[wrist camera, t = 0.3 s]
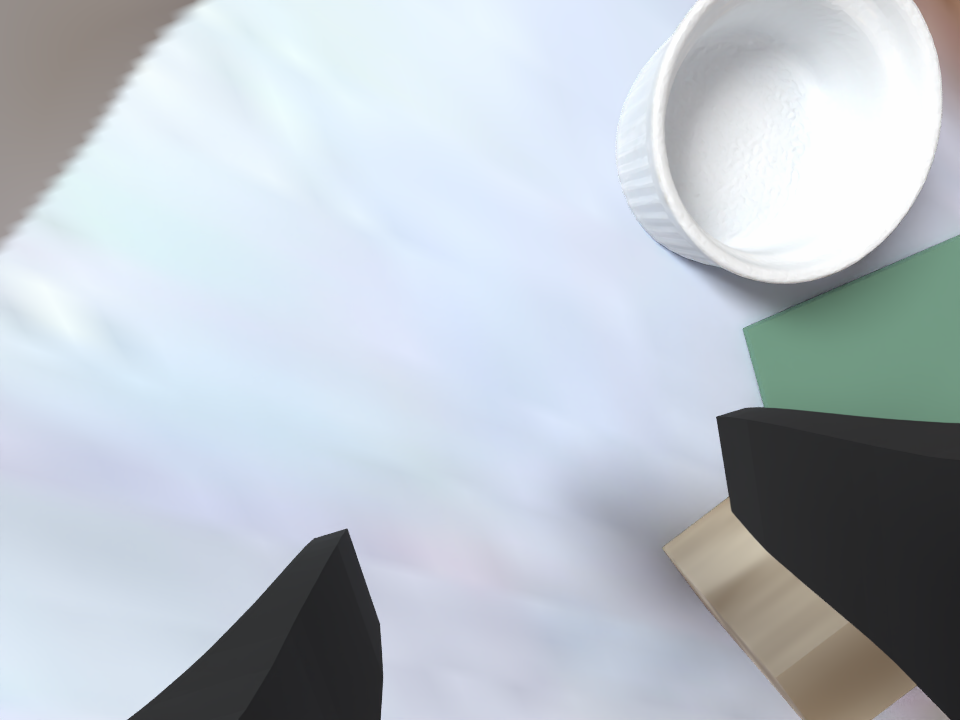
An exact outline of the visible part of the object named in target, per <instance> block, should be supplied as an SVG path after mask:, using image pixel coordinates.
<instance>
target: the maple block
mask: <svg viewBox="0 0 960 720" xmlns="http://www.w3.org/2000/svg"><path fill="white" fill-rule="evenodd" d="M662 549H663V550H664V552H665V553H666V554H667V556H668V557H669V558H670V560H671V561H672V562H673V564H674V565H675V566H676V568H677V569H678V570H679V572H680V573H681V574H682V576H683V577H684V579H685V580H686V581H687V583H688V584H689V585H690V587H691V588H692V589H693V591H694V592H695V593H696V595H697V596H698V597H699V599H700V600H701V601H702V603H703V604H704V605H705V607H706V608H707V609H708V610H709V611H710V612H711V614H712V615H713V616H714V617H715V618H716V619H717V621H718V622H719V623H720V624H721V625H722V626H723V628H724V629H725V630H726V631H727V632H728V634H729V635H730V636H731V637H732V638H733V639H734V641H735V642H736V643H737V644H738V645H739V646H740V648H741V649H742V650H743V651H744V652H745V653H746V655H747V656H748V657H749V658H750V659H751V660H752V662H753V663H754V664H755V665H756V666H757V667H758V669H759V670H760V671H761V672H762V673H763V674H764V676H765V677H766V678H767V679H768V680H769V681H770V683H771V684H772V685H773V686H774V687H775V688H776V690H777V691H778V692H779V693H780V694H781V695H782V697H783V698H784V699H785V700H786V701H787V702H788V704H789V705H790V706H791V707H792V708H793V710H794V711H795V712H796V713H797V714H798V715H799V717H800V718H801V719H802V720H872V719H873V718H875V717H876V716H877V715H879V714H880V713H881V712H882V711H884V710H885V709H886V708H888V707H889V706H890V705H892V704H893V703H894V702H896V701H897V700H898V699H900V698H901V697H902V696H904V695H905V694H906V693H908V692H909V691H910V690H912V689H913V688H914V687H915V686H917V685H916V684H915V683H914V682H913V681H912V680H911V679H910V678H909V677H908V675H907V674H906V673H905V672H904V671H903V670H902V669H901V668H900V667H899V666H898V665H897V664H896V663H895V662H894V661H893V660H892V659H890V658H889V657H888V656H887V655H886V654H885V653H884V652H883V651H882V650H881V649H880V648H878V647H877V646H876V645H875V644H874V643H873V642H872V641H871V640H870V639H869V638H867V637H866V636H865V635H864V634H863V633H861V632H860V631H859V630H858V629H857V628H856V627H854V626H853V625H852V624H851V623H850V622H849V621H847V620H846V619H845V618H844V617H843V616H841V615H840V614H839V613H838V612H837V611H836V610H834V609H833V608H832V607H831V606H830V605H828V604H827V603H826V602H825V601H824V600H823V599H821V598H820V597H819V596H818V595H817V594H815V593H814V592H813V591H812V590H811V589H810V588H808V587H807V586H806V585H805V584H804V583H802V582H801V581H800V580H799V579H798V578H797V577H796V576H794V575H793V574H792V573H791V572H790V571H789V570H787V569H786V568H785V567H784V566H783V565H782V564H780V563H779V562H778V561H777V560H776V559H775V558H774V557H773V556H771V555H770V554H769V553H768V552H767V551H766V550H765V549H764V548H763V547H762V546H761V545H760V544H759V543H758V541H757V540H756V539H755V538H754V537H753V536H752V535H751V534H750V533H749V532H748V530H747V529H746V528H745V527H744V526H743V524H742V523H741V522H740V521H739V520H738V519H737V517H736V516H735V515H734V514H733V513H732V512H731V505H730V499H729V497H728V498H727V499H725V500H724V501H723V502H721V503H720V504H719V505H717V506H716V507H715V508H713V509H712V510H711V511H710V512H708V513H707V514H706V515H704V516H703V517H702V518H700V519H699V520H698V521H696V522H695V523H694V524H692V525H691V526H690V527H688V528H687V529H686V530H685V531H683V532H682V533H681V534H679V535H678V536H677V537H675V538H674V539H673V540H671V541H670V542H669V543H667V544H666V545H665V546H664V547H662Z"/></svg>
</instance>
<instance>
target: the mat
mask: <svg viewBox="0 0 960 720" xmlns="http://www.w3.org/2000/svg"><path fill="white" fill-rule="evenodd" d="M743 331H744V335H745V339H746V342H747V346H748V350H749V353H750V357H751V361H752V364H753V368H754V371H755V375H756V379H757V382H758V386H759V390H760V393H761V397H762V401H763V404H764V407H765V408H782V409H794V410H804V411H814V412H824V413H834V414H843V415H853V416H863V417H874V418H886V419H898V420H913V421H928V422H944V423H960V235H958V236H956V237H954V238H951V239H949V240H947V241H944V242H942V243H940V244H937V245H935V246H933V247H930V248H928V249H926V250H923V251H921V252H919V253H917V254H914V255H912V256H910V257H907V258H905V259H903V260H900V261H898V262H896V263H893V264H891V265H889V266H886V267H884V268H882V269H879V270H877V271H875V272H872V273H870V274H868V275H866V276H863V277H861V278H859V279H856V280H854V281H852V282H849V283H847V284H845V285H842V286H840V287H838V288H835V289H833V290H831V291H828V292H826V293H824V294H821V295H819V296H817V297H815V298H812V299H810V300H808V301H805V302H803V303H801V304H798V305H796V306H794V307H791V308H789V309H787V310H784V311H782V312H780V313H777V314H775V315H773V316H770V317H768V318H766V319H763V320H761V321H759V322H757V323H754V324H752V325H750V326H747V327H745V328H743Z"/></svg>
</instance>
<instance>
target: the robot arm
mask: <svg viewBox="0 0 960 720" xmlns="http://www.w3.org/2000/svg"><path fill="white" fill-rule="evenodd" d="M716 418H717V424H718V431H719V437H720V443H721V449H722V456H723V462H724V468H725V474H726V481H727V487H728V493H729V499H730V505H731V512H732V513H733V514H734V515H735V516H736V517H737V519H738V520H739V521H740V522H741V523H742V524H743V526H744V527H745V528H746V529H747V530H748V532H749V533H750V534H751V535H752V536H753V537H754V538H755V539H756V540H757V541H758V543H759V544H760V545H761V546H762V547H763V548H764V549H765V550H766V551H767V552H768V553H769V554H770V555H771V556H773V557H774V558H775V559H776V560H777V561H778V562H779V563H780V564H782V565H783V566H784V567H785V568H786V569H787V570H789V571H790V572H791V573H792V574H793V575H794V576H796V577H797V578H798V579H799V580H800V581H801V582H802V583H804V584H805V585H806V586H807V587H808V588H810V589H811V590H812V591H813V592H814V593H815V594H817V595H818V596H819V597H820V598H821V599H823V600H824V601H825V602H826V603H827V604H828V605H830V606H831V607H832V608H833V609H834V610H836V611H837V612H838V613H839V614H840V615H841V616H843V617H844V618H845V619H846V620H847V621H849V622H850V623H851V624H852V625H853V626H854V627H856V628H857V629H858V630H859V631H860V632H861V633H863V634H864V635H865V636H866V637H867V638H869V639H870V640H871V641H872V642H873V643H874V644H875V645H876V646H877V647H878V648H880V649H881V650H882V651H883V652H884V653H885V654H886V655H887V656H888V657H889V658H890V659H892V660H893V661H894V662H895V663H896V664H897V665H898V666H899V667H900V668H901V669H902V670H903V671H904V672H905V673H906V674H907V675H908V677H909V678H910V679H911V680H912V681H913V682H914V683H915V684H916V685H917V686H918V687H919V688H920V689H921V690H922V691H923V692H924V693H925V694H926V695H927V696H928V697H929V698H930V699H931V700H932V701H933V702H934V703H935V704H936V705H937V706H938V707H939V708H940V709H941V710H942V711H943V712H944V713H945V714H946V715H947V716H948V717H949V719H950V720H960V423H944V422H928V421H913V420H898V419H886V418H874V417H863V416H853V415H843V414H834V413H824V412H814V411H804V410H794V409H782V408H765V407H754V408H744V409H740V410H737V411H734V412H730V413H727V414H724V415H721V416H717V417H716ZM382 689H383V664H382V647H381V633H380V623H379V620H378V617H377V614H376V611H375V608H374V605H373V602H372V599H371V597H370V594H369V591H368V588H367V585H366V582H365V579H364V576H363V573H362V570H361V567H360V564H359V561H358V558H357V555H356V552H355V549H354V546H353V544H352V541H351V538H350V535H349V532H348V529H344V530H341V531H338V532H334V533H331V534H328V535H324V536H321V537H318V538H314V539H313V540H312V541H311V542H310V543H308V544H307V545H306V546H305V547H304V549H303V550H302V551H301V552H300V553H299V554H298V555H297V556H296V557H295V558H294V559H293V560H292V562H291V563H290V564H289V565H288V566H287V567H286V568H285V569H284V571H283V572H282V573H281V574H280V575H279V576H278V577H277V578H276V580H275V581H274V582H273V583H272V584H271V585H270V586H269V587H268V588H267V590H266V591H265V592H264V593H263V594H262V595H261V596H260V597H259V599H258V600H257V601H256V602H255V603H254V604H253V605H252V606H251V607H250V608H249V609H248V610H247V611H246V612H245V613H244V614H243V615H242V616H241V617H240V618H239V619H238V621H237V622H236V623H235V624H234V625H233V626H232V627H231V628H230V629H229V630H228V631H227V632H226V633H225V634H224V635H223V636H222V637H221V638H220V639H219V640H218V641H217V642H216V643H215V644H214V645H213V646H212V647H211V648H210V649H209V650H208V651H207V652H206V653H205V654H204V655H203V656H202V657H201V658H200V659H198V660H197V661H196V662H195V663H194V664H193V665H192V666H191V667H190V668H189V669H188V670H186V671H185V672H184V673H183V674H182V675H181V676H180V677H178V678H177V679H176V680H175V681H174V682H173V683H172V684H170V685H169V686H168V687H167V688H166V689H165V690H163V691H162V692H161V693H160V694H159V695H158V696H157V697H155V698H154V699H153V700H152V701H150V702H149V703H148V704H147V705H146V706H144V707H143V708H142V709H141V710H139V711H138V712H137V713H135V714H134V715H133V716H132V717H130V718H129V719H128V720H381V705H382Z"/></svg>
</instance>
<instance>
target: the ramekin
mask: <svg viewBox="0 0 960 720" xmlns="http://www.w3.org/2000/svg"><path fill="white" fill-rule="evenodd" d="M941 118H942V82H941V71H940V67H939V61H938V56H937V52H936V48H935V46H934V42H933V39H932V36H931V34H930V32H929V29H928V27H927V25H926V22H925V20H924V18H923V16H922V14H921V12H920V11H919V8H918V7H917V6H916V4H915V3H914V2H913V0H698V1H697V2H696V3H695V4H694V6H693V7H692V8H691V9H690V10H689V12H688V13H687V14H686V16H685V17H684V18H683V20H682V21H681V22H680V24H679V25H678V27H677V28H676V30H675V32H674V33H673V35H672V36H671V37H670V38H669V39H668V40H667V41H666V42H665V43H664V44H663V45H662V46H661V47H660V48H659V49H658V50H657V51H656V52H655V53H654V55H653V56H652V57H651V59H650V60H649V61H648V63H647V64H646V65H645V66H644V67H643V69H642V70H641V71H640V73H639V75H638V77H637V79H636V80H635V82H634V83H633V85H632V87H631V89H630V91H629V93H628V96H627V98H626V101H625V103H624V105H623V108H622V112H621V116H620V119H619V123H618V128H617V135H616V165H617V171H618V177H619V181H620V184H621V188H622V192H623V194H624V196H625V198H626V201H627V204H628V206H629V208H630V210H631V211H632V213H633V215H634V216H635V218H636V220H637V221H638V222H639V224H640V225H641V226H642V227H643V228H644V230H645V231H646V232H647V233H648V234H650V235H651V236H652V238H653V239H654V240H656V241H657V242H658V243H660V244H662V245H663V246H665V247H666V248H667V249H669V250H670V251H673V252H675V253H677V254H679V255H681V256H682V257H685V258H688V259H691V260H694V261H697V262H700V263H703V264H707V265H712V266H717V267H721V268H723V269H725V270H727V271H729V272H731V273H734V274H736V275H739V276H742V277H745V278H748V279H752V280H756V281H760V282H766V283H774V284H794V283H802V282H808V281H812V280H816V279H820V278H824V277H827V276H830V275H832V274H834V273H837V272H840V271H842V270H844V269H846V268H847V267H849V266H851V265H853V264H855V263H857V262H858V261H859V260H861V259H862V258H863V257H865V256H866V255H867V254H869V253H870V252H871V251H873V250H874V249H875V248H876V247H877V246H879V245H880V244H881V243H882V242H883V241H884V240H885V239H886V238H887V237H888V236H889V235H890V234H891V233H892V232H893V231H894V229H895V228H896V227H897V226H898V225H899V223H900V222H901V221H902V219H903V218H904V217H905V216H906V214H907V213H908V211H909V209H910V208H911V206H912V205H913V203H914V201H915V199H916V198H917V196H918V194H919V192H920V191H921V189H922V187H923V184H924V182H925V180H926V178H927V175H928V173H929V170H930V168H931V164H932V162H933V159H934V156H935V152H936V148H937V143H938V140H939V135H940V128H941Z"/></svg>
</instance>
